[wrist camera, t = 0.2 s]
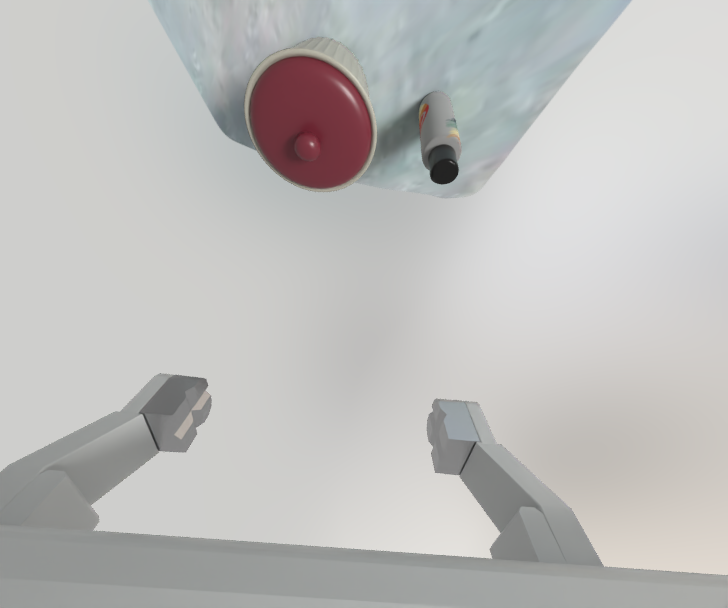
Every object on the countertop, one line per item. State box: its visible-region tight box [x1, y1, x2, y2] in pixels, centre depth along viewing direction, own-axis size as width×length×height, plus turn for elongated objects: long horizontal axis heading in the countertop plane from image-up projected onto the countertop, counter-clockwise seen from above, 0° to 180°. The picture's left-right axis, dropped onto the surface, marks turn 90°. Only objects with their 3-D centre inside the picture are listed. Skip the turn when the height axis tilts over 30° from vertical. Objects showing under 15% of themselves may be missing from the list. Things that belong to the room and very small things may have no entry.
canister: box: [244, 37, 377, 192], centre depth 41 cm, size 18×18×21 cm
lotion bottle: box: [419, 91, 461, 184], centre depth 43 cm, size 6×6×20 cm
